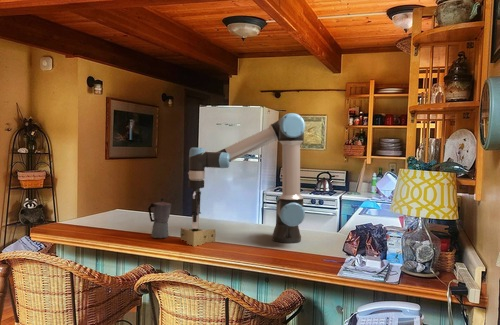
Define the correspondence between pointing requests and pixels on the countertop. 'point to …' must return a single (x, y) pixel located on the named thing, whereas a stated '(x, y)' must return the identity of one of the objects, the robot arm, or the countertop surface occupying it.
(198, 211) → the pin
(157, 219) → the moka pot
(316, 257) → the countertop surface
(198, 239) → the wooden box
